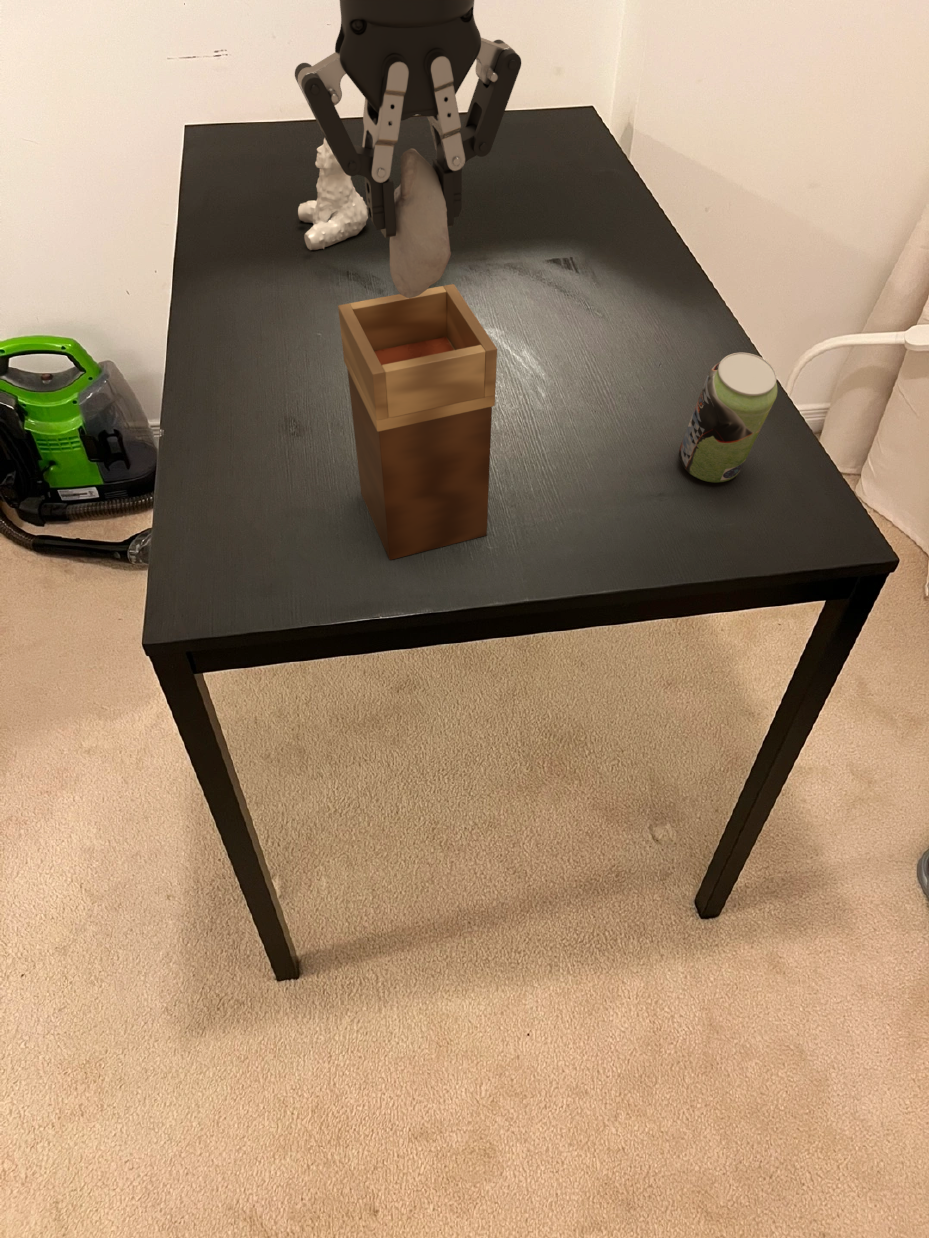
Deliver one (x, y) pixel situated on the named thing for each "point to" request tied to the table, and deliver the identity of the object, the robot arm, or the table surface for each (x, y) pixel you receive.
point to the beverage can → (728, 417)
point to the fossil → (418, 228)
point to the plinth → (424, 478)
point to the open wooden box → (418, 356)
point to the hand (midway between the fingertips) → (415, 225)
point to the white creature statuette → (332, 205)
